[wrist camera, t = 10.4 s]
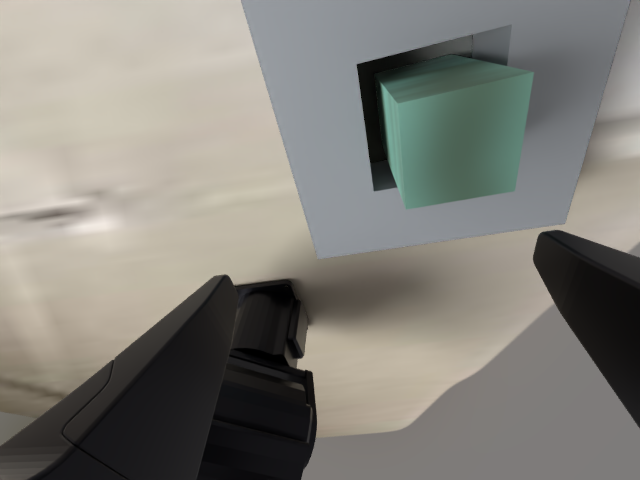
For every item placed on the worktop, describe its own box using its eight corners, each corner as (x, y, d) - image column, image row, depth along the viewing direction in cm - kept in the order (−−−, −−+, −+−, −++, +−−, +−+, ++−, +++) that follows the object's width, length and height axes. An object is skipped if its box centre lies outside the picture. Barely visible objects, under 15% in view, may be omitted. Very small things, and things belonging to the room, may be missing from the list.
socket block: (321, 225, 22) (317, 259, 19) (256, -18, 14) (231, -32, 11) (527, 191, 19) (564, 223, 16) (588, -125, 12) (685, -186, 8)
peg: (382, 145, 18) (405, 209, 12) (373, 73, 16) (397, 103, 9) (449, 131, 17) (514, 191, 11) (451, 54, 15) (534, 72, 9)
